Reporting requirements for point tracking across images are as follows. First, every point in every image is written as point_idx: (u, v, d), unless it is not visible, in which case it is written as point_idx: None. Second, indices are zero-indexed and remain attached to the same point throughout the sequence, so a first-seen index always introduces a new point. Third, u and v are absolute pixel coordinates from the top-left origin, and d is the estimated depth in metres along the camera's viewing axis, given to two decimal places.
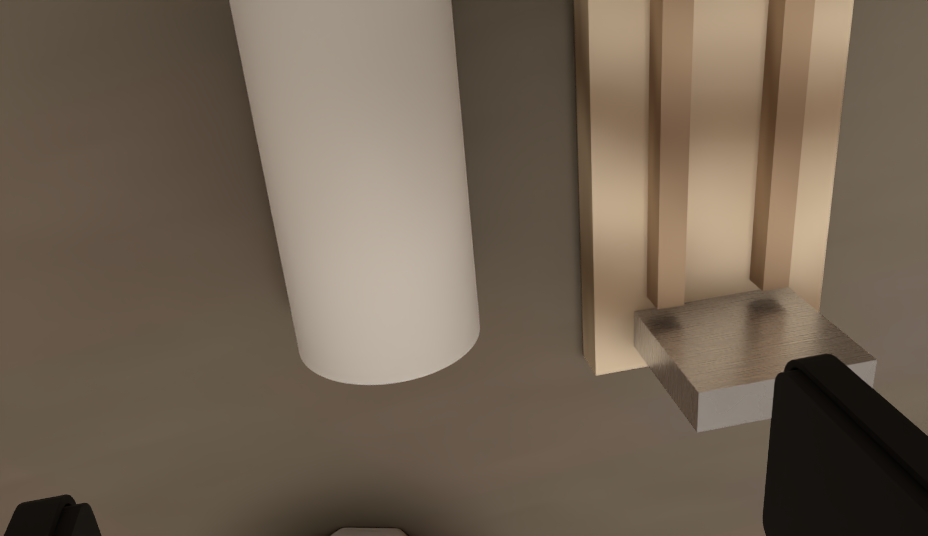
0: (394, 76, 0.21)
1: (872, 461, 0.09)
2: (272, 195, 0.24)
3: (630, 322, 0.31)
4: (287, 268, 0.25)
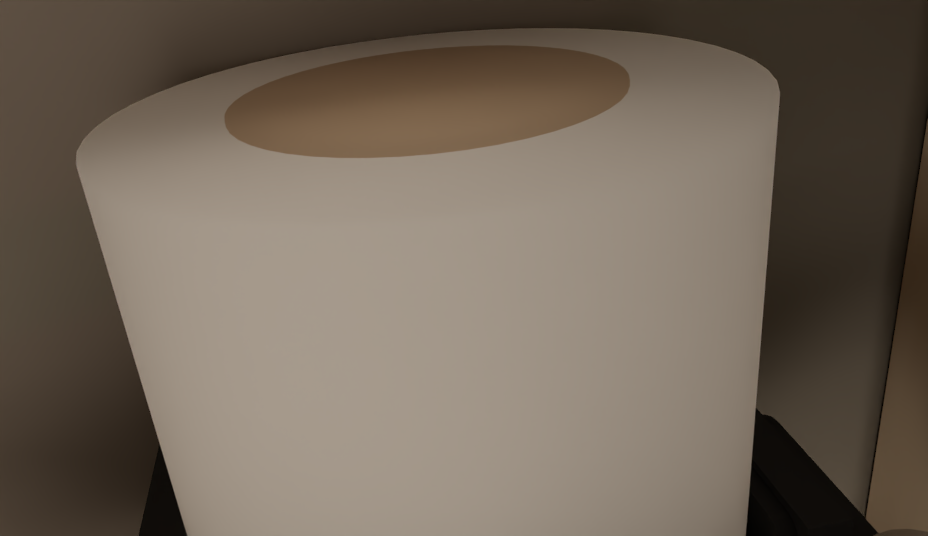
0: None
1: None
2: None
3: None
4: None
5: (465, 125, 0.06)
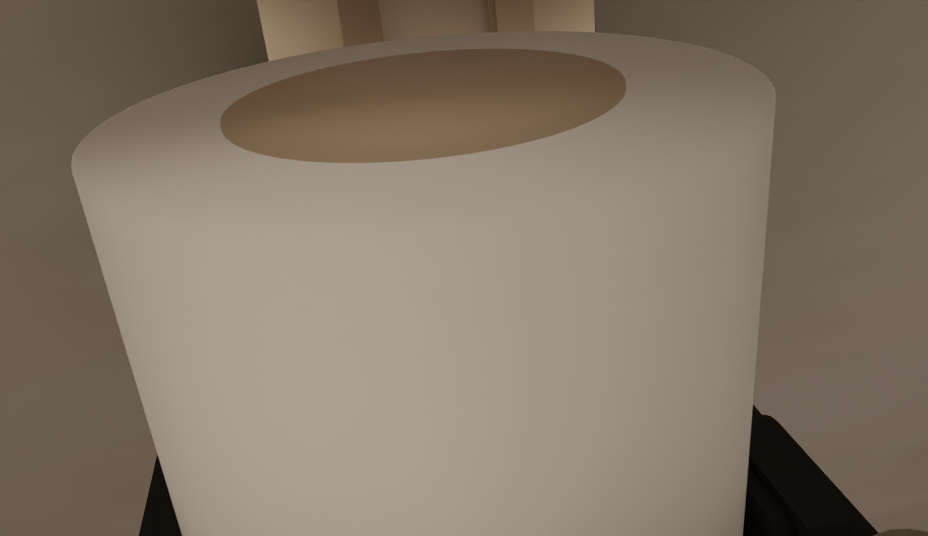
0: None
1: None
2: None
3: None
4: None
5: (460, 128, 0.06)
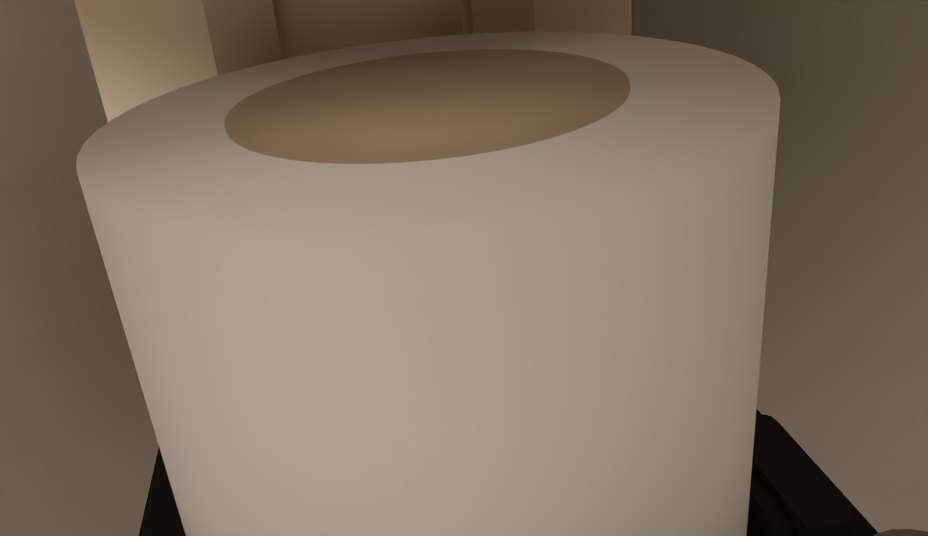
0: None
1: None
2: None
3: None
4: None
5: (465, 130, 0.06)
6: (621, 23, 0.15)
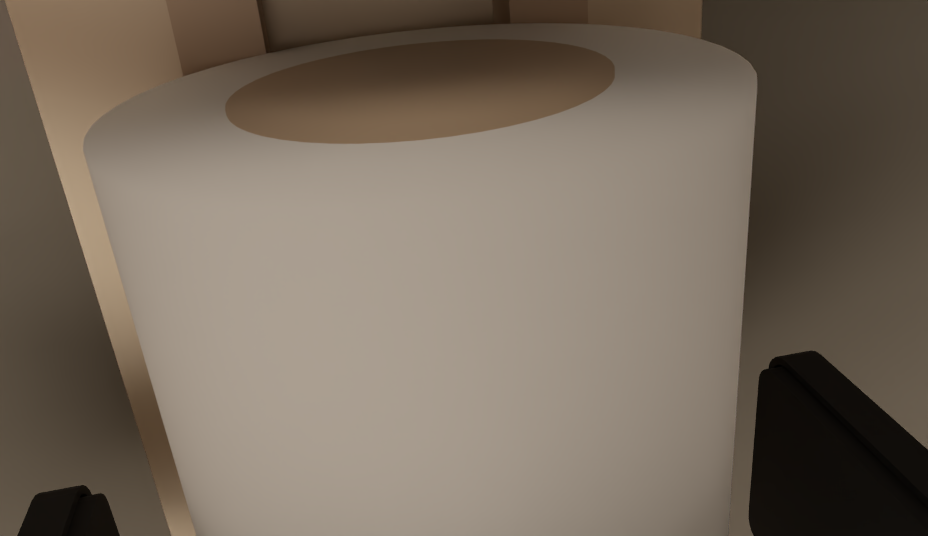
0: (619, 510, 0.07)
1: (852, 457, 0.10)
2: None
3: None
4: None
5: (451, 113, 0.07)
6: None
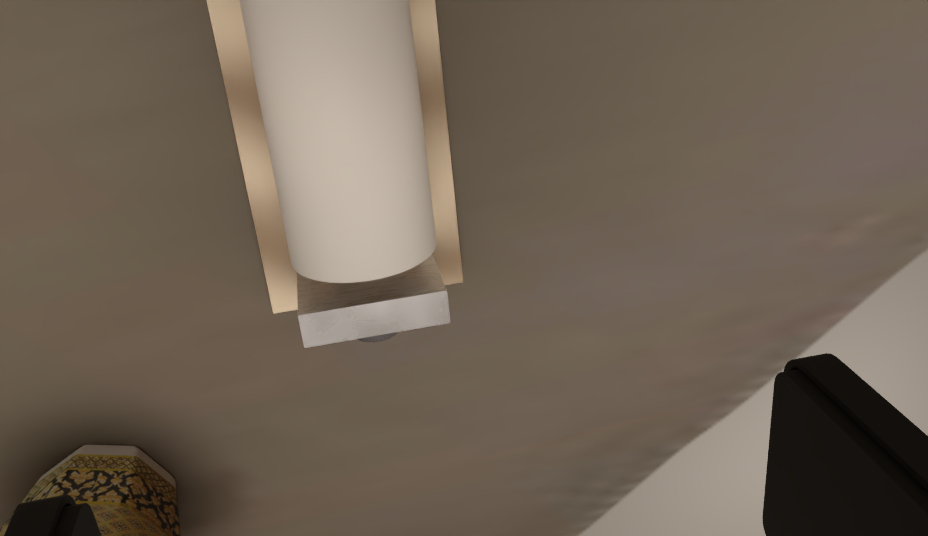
0: (360, 34, 0.28)
1: (872, 461, 0.09)
2: (269, 131, 0.31)
3: None
4: (281, 191, 0.32)
5: None
6: None
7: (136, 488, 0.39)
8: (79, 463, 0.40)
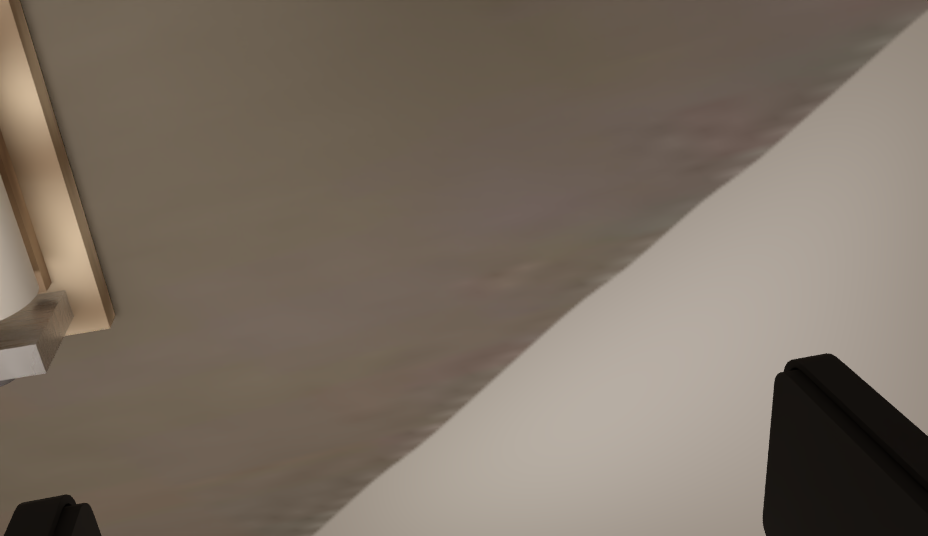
0: None
1: (872, 461, 0.09)
2: None
3: None
4: None
5: None
6: (12, 29, 0.37)
7: None
8: None
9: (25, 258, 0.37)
